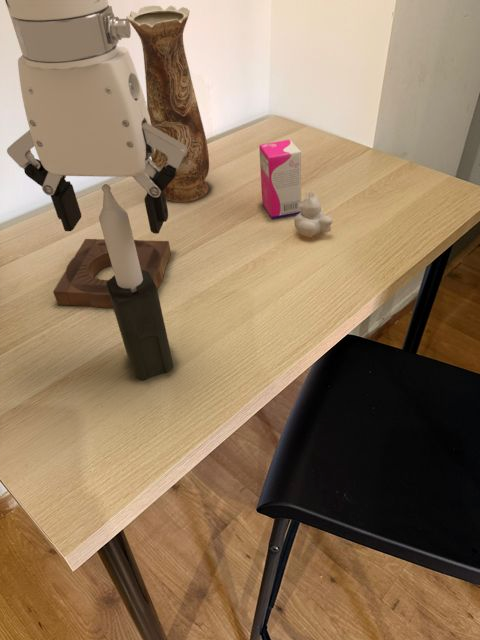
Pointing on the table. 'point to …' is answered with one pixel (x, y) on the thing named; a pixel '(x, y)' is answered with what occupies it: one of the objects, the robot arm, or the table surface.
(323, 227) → the white animal figurine
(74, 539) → the table surface
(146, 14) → the vase
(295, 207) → the supplement box
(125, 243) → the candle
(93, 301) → the hole plate
